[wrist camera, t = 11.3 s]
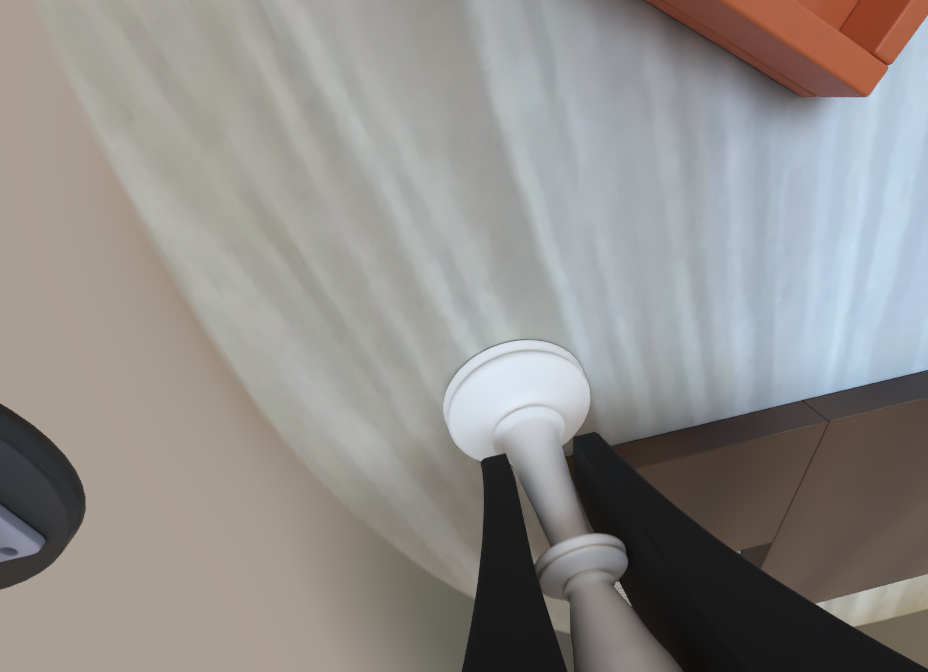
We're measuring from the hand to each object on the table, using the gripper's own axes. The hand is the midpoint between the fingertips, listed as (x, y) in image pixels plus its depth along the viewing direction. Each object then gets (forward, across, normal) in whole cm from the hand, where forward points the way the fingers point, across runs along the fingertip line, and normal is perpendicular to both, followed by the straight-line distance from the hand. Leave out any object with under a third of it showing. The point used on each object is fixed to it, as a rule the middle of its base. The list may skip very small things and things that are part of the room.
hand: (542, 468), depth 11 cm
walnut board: (+3, -18, +12) cm, 22 cm away
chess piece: (+3, 0, 0) cm, 3 cm away
